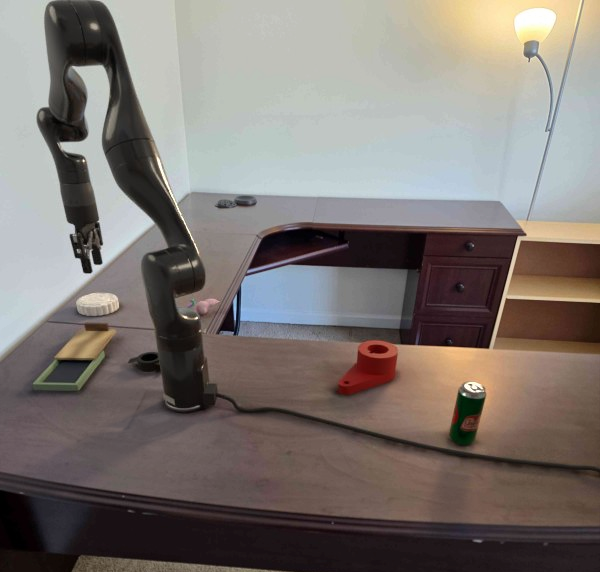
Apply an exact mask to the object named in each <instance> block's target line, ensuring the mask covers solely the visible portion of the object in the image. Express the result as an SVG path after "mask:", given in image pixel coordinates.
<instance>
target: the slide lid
mask: <svg viewBox="0 0 600 572" xmlns="http://www.w3.org/2000/svg"><path fill="white" fill-rule="evenodd" d="M116 333H117V329H115V328H111V329H110V327H109V323H108V322H85V323H84V328H80V329H79V330H78V331H77V332H76V333H75V334H74V336H73V337H71V339H70V340H69V341H68V342H67V343H66V344H65V345H64V346H63V347H62V348H61V349H60V350H59V351H58V352H57V354H56V355H55V356H54V357H53V359H54V360H95V358H96V357H97V356H98V355H99V353H100V352H101V351H102V350H104V348H105V347H106V346H107V345H108V343H109V342H110V341H111V339H113V337H114V336H115V334H116Z"/></svg>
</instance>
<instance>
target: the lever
mask: <svg viewBox="0 0 600 572" xmlns="http://www.w3.org/2000/svg"><path fill="white" fill-rule="evenodd" d="M356 355H357V357H356V362H355V363H354V364H353V366H351V368H349V369H348V371H346V373H344V374H343V376H342V377H341V378H339V380H338V381H337V392H338V394H339V395H343V396H349V395H352V394H355V393H359V392H362V391H364V390H368V389H371V388H374V387H376V386H380V385H383V384H386V383H389V382H391V381H393V380H394V379H395V377H396V371H397V362H398V355H399V349H398V347H397V346H396V345H394V344H393V343H391V342H388V341H384V340H376V339H375V340H367V341H363V342H361V343H360V344H359V345H358V347H357V354H356Z"/></svg>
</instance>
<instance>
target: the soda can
mask: <svg viewBox="0 0 600 572" xmlns="http://www.w3.org/2000/svg"><path fill="white" fill-rule="evenodd" d="M486 398H487V392H486V387H485V385H484V384H481V383H480V382H476V381H465V382H462V384H461V386H460V387H459V388H458V390H457V394H456V398H455V404H454V409H453V412H452V417H451V418H452V419H451V421H450V427H449V431H448V437H449V439H450V440H451V441H452V442H453V443H454V444H456V445H459V446H469V445H472V444H473V443H475V441H476V437H477V434H478V430H479V426H480V423H481V418H482V413H483V411H484V410H483V409H484V407H485V403H486Z"/></svg>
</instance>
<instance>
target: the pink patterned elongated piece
mask: <svg viewBox="0 0 600 572" xmlns="http://www.w3.org/2000/svg"><path fill="white" fill-rule="evenodd" d="M220 302H221V301H220V300H218V299H216V298H207V299H205V300H200V301H198V302H196V301H195V300H194V299H193V298H192V299H190V300H189V303H188V304H187V306H186V308H187V309H191V308H193V307H194V309H192V310H193V311H196V312H197V313H198V314H199V316H204V315H205V314H206V313H207V312H208V311H209V310H210V308H212V307H213V306H214V305H216V304H217V303H220Z"/></svg>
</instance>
